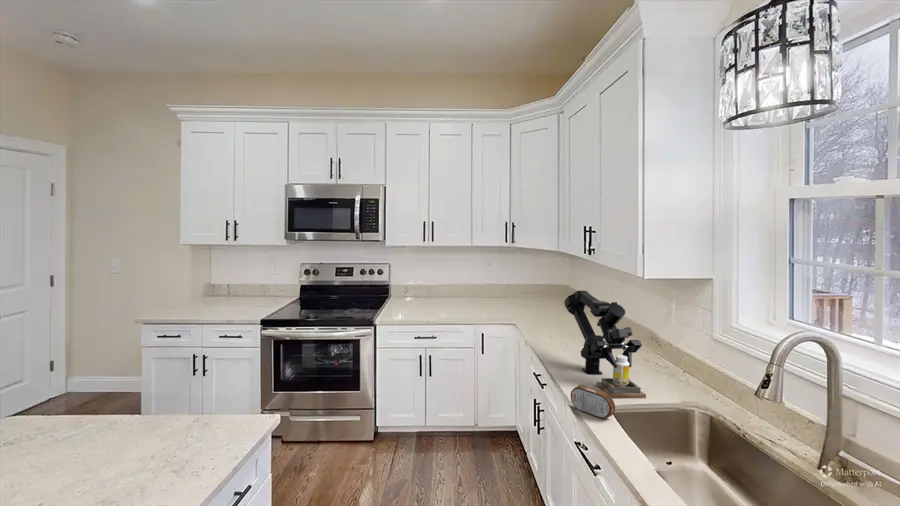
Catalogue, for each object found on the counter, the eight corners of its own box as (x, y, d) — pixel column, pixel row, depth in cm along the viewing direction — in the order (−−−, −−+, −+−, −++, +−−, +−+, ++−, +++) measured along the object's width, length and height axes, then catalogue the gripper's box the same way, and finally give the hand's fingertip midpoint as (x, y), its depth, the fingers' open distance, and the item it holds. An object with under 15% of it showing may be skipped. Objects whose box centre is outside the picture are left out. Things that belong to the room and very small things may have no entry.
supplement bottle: (628, 381, 168) (629, 355, 167) (628, 386, 162) (629, 359, 162) (612, 379, 170) (614, 353, 169) (612, 384, 165) (613, 357, 164)
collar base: (596, 385, 172) (596, 377, 172) (628, 385, 173) (629, 377, 173) (610, 398, 159) (611, 389, 159) (645, 398, 160) (646, 389, 160)
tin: (615, 420, 141) (616, 394, 140) (610, 423, 139) (611, 397, 138) (573, 405, 152) (574, 381, 151) (568, 407, 150) (569, 383, 149)
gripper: (595, 319, 167) (608, 357, 157) (640, 319, 170) (656, 356, 160) (584, 334, 175) (596, 371, 165) (628, 334, 178) (642, 370, 168)
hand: (623, 367), depth 164 cm, fingers closed on supplement bottle, 6 cm apart
